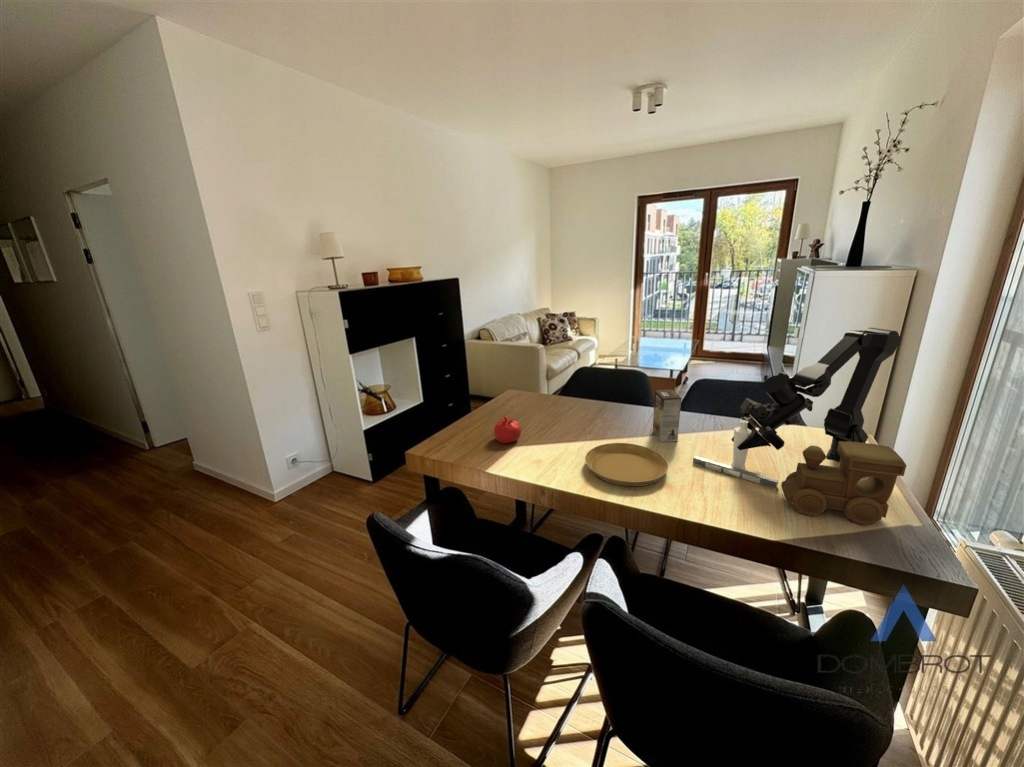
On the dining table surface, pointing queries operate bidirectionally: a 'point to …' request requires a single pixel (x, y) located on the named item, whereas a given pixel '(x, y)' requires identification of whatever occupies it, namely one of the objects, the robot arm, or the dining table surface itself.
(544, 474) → the dining table surface
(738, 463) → the cream angular vase
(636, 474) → the plant saucer
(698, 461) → the rail
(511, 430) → the pomegranate
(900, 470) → the wooden toy train
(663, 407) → the coffee box
